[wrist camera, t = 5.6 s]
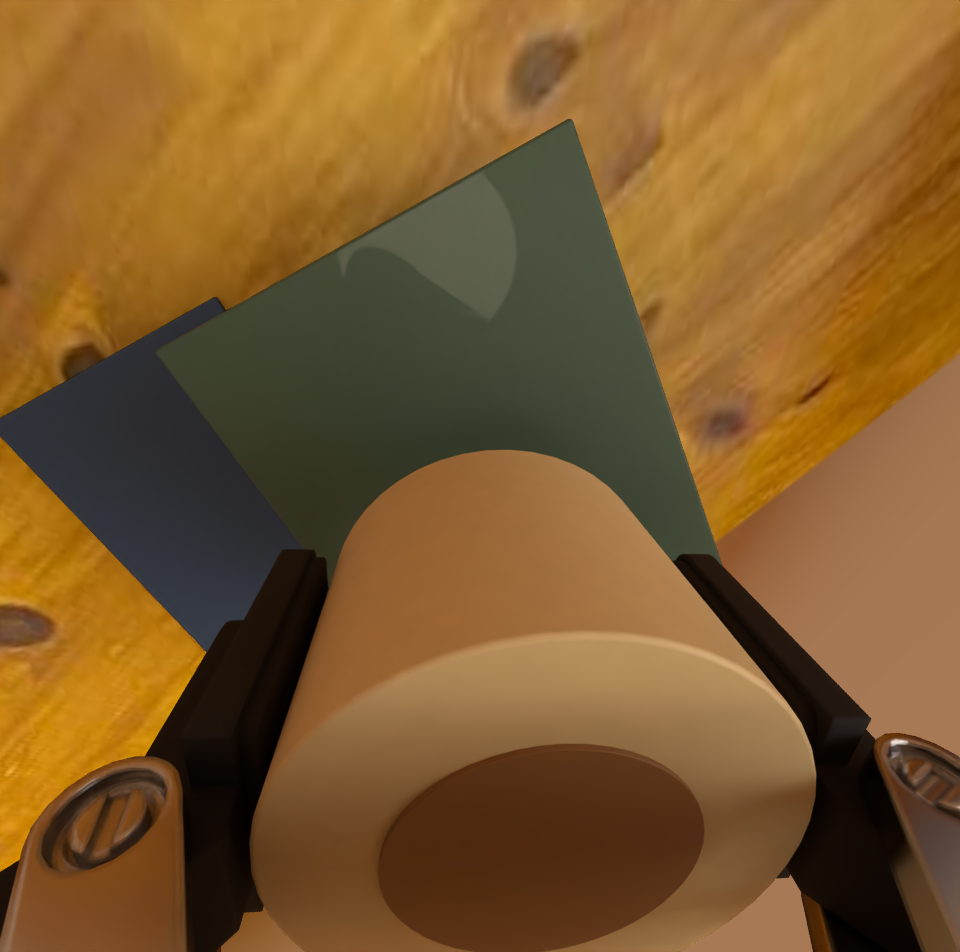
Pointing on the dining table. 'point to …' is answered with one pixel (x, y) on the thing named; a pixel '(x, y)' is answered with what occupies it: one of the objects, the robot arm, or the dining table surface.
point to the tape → (522, 733)
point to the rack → (448, 356)
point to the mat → (155, 481)
